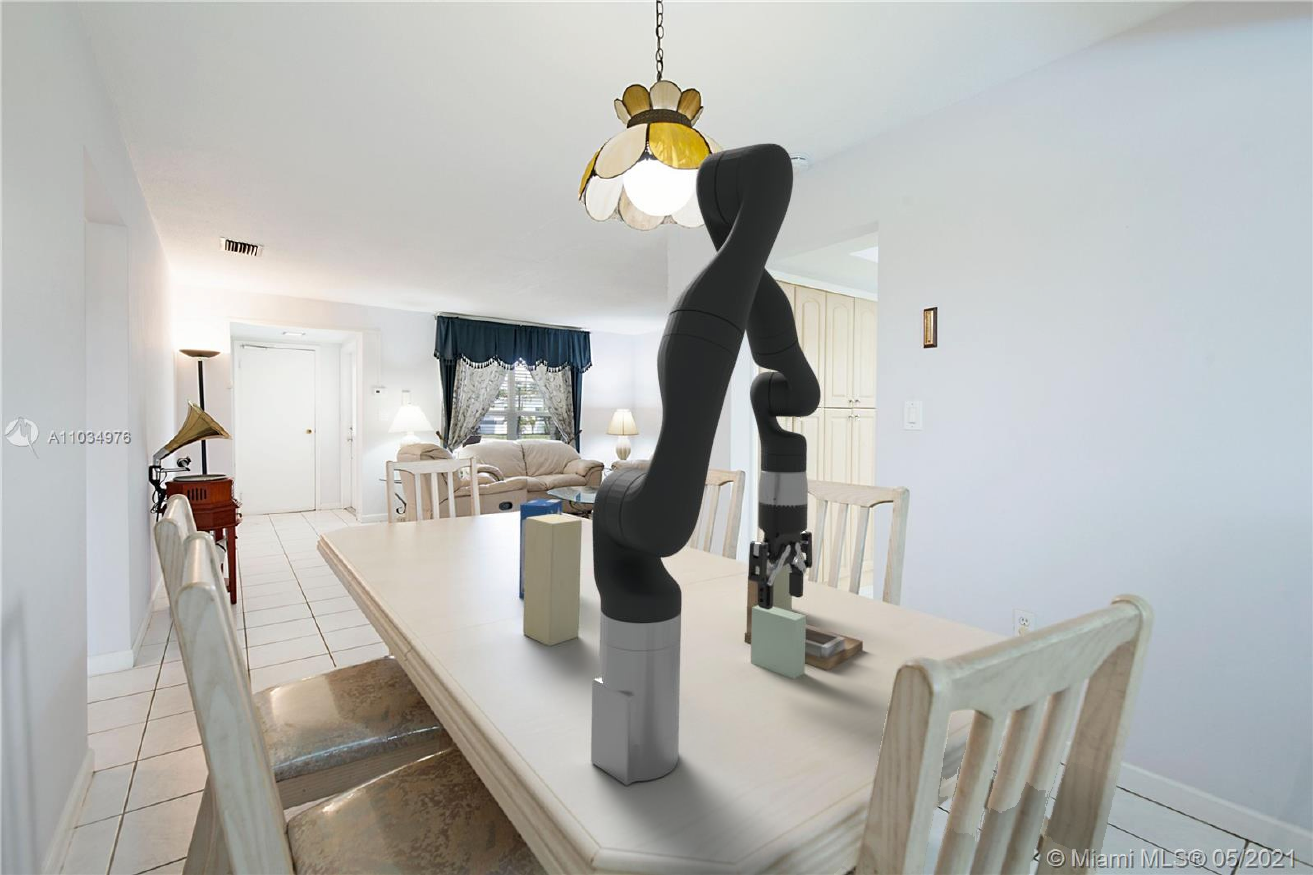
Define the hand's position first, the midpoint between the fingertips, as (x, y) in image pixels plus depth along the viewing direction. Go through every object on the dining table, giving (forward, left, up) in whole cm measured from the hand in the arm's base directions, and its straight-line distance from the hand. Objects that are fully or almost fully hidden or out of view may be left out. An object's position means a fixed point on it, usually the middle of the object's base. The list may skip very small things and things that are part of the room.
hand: (781, 601), depth 93 cm
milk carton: (-5, +58, -11) cm, 60 cm away
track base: (+11, +2, -11) cm, 15 cm away
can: (+23, +17, -11) cm, 30 cm away
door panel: (0, 0, -11) cm, 11 cm away
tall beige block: (-18, +35, -11) cm, 41 cm away
